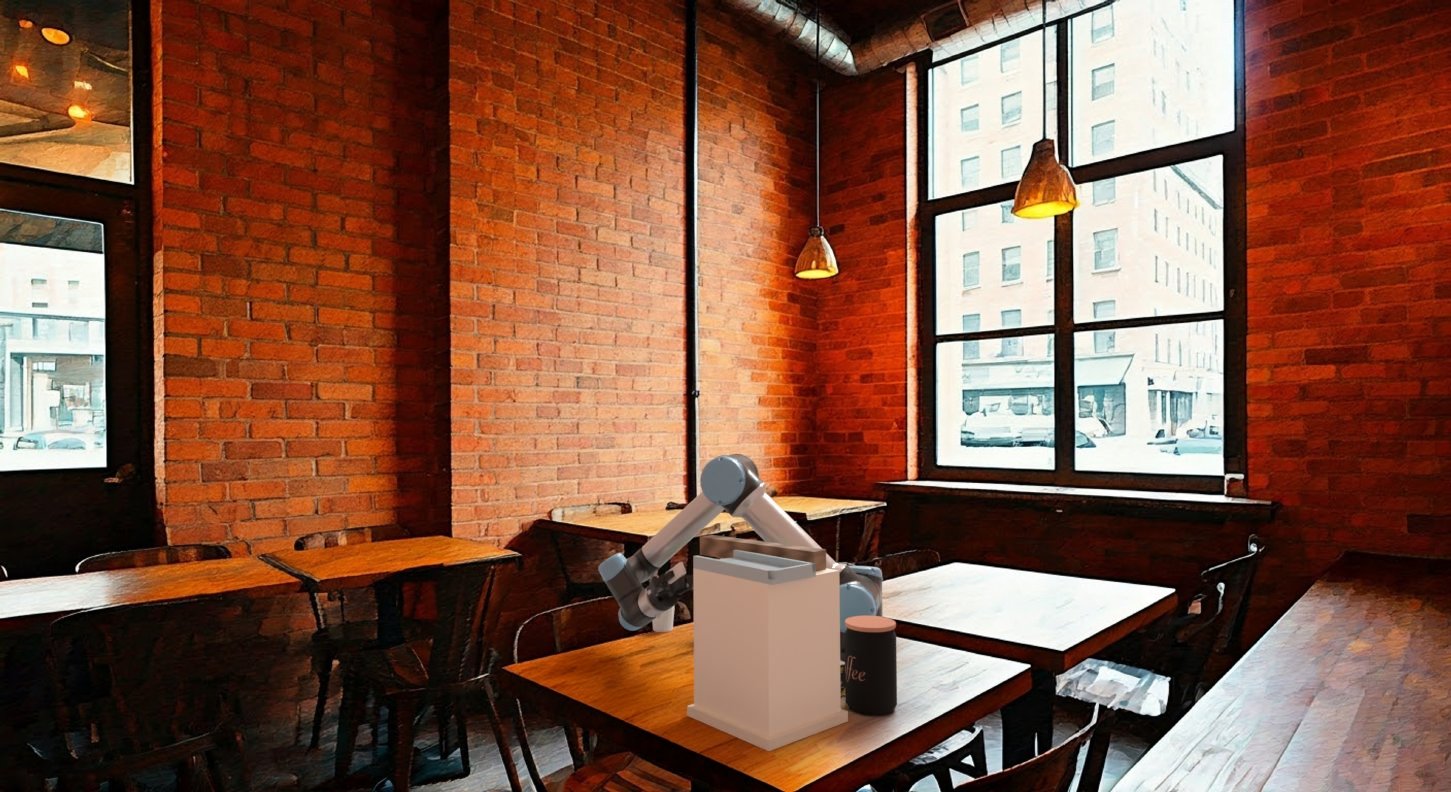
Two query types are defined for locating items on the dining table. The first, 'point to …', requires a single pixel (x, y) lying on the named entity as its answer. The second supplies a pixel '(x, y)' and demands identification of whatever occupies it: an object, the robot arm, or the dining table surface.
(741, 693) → the plinth
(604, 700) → the dining table surface
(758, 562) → the tray
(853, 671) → the coffee jar
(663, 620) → the white cup
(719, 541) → the walnut bar
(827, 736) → the dining table surface
